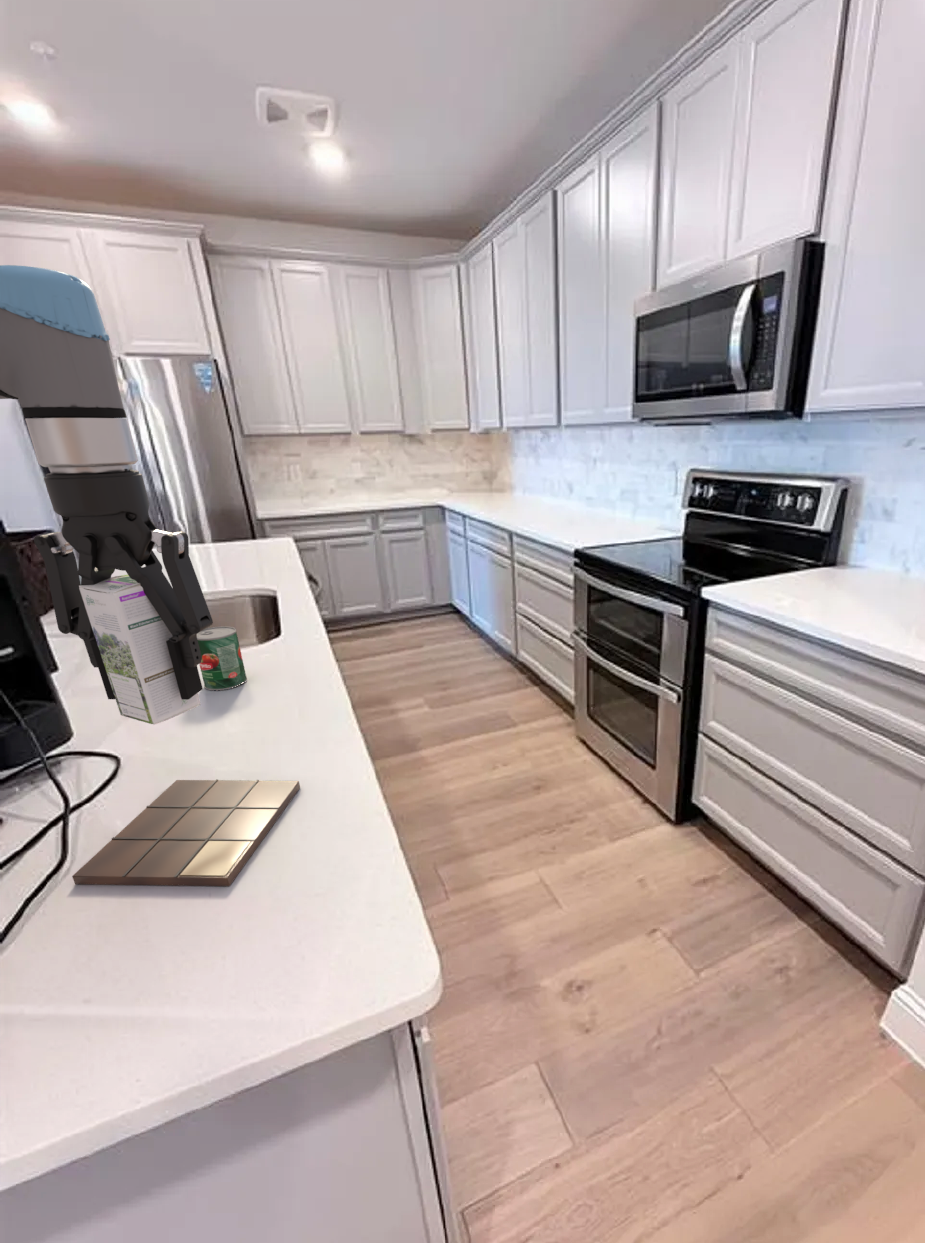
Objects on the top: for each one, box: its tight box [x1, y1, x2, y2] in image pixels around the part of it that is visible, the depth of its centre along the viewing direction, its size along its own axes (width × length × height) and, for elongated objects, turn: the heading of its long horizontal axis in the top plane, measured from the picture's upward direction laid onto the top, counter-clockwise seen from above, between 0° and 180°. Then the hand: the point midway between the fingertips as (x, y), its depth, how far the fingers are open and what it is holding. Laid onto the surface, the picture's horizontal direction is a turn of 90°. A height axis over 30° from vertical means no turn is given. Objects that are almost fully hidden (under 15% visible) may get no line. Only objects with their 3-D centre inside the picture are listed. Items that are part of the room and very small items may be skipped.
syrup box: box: [79, 574, 202, 726], centre depth 61 cm, size 6×6×14 cm
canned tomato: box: [197, 625, 248, 691], centre depth 119 cm, size 8×8×11 cm
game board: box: [71, 779, 301, 887], centre depth 76 cm, size 18×20×1 cm
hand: (156, 693), depth 63 cm, fingers closed on syrup box, 7 cm apart
